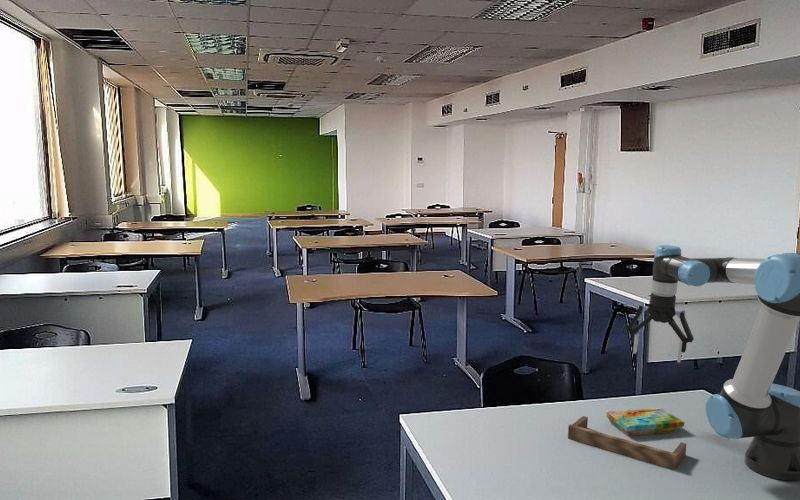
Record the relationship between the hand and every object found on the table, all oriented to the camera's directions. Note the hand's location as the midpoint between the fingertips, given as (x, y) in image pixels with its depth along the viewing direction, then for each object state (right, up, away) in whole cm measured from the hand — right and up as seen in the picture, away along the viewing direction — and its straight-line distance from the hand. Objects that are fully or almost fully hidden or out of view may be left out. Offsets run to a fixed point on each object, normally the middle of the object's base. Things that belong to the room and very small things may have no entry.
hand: (656, 356), depth 204 cm
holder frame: (-17, -24, -18) cm, 34 cm away
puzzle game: (-6, -22, -4) cm, 24 cm away
